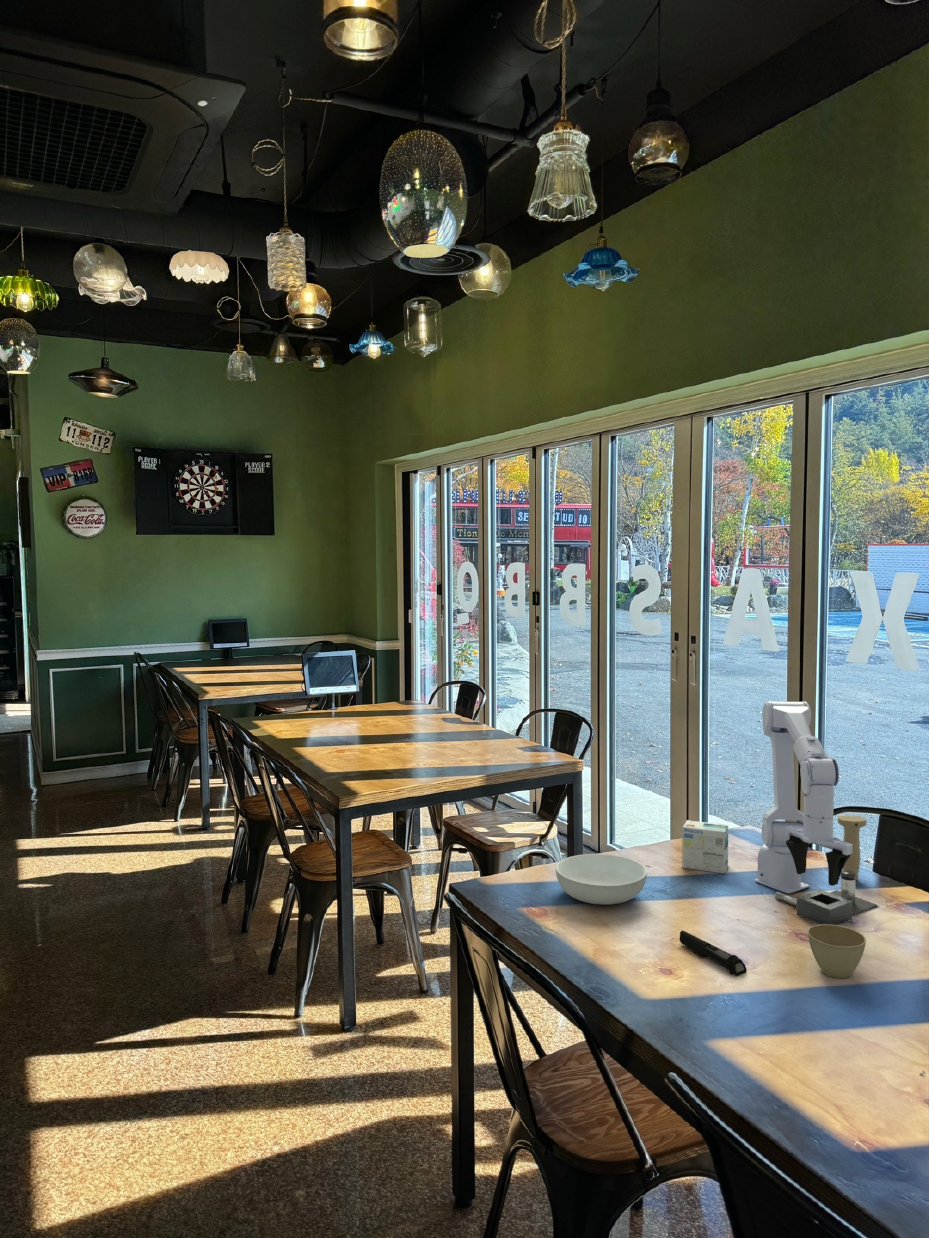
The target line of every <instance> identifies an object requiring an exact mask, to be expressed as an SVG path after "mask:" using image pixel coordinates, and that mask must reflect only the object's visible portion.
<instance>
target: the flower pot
mask: <svg viewBox="0 0 929 1238" xmlns="http://www.w3.org/2000/svg"><path fill="white" fill-rule="evenodd" d="M807 936H808V937H807V938H808V942H809V946H810V950H811V952H812V955H813V957H814V959H815V962H816V963H817V965H818V967H819V968H820V970H821V972H822V973H823V974H825V975H826V976H829V977H832V978H837V979H846V978H849V977H850V976H851V975H852V974H853V973H854V971H855V970H856V969H857V968H858V966H859V964H860V962H861V960H862V958H863V955H864V952H865V948H866V942H867V940H866V936H864V934H862V933H860V932H859V931H857V930H856V929H853V928H850V927H847V926H843V925H840V924H839V925H831V924H815V925H812V926H810V927H809V928H808V929H807Z"/></svg>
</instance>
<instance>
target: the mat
mask: <svg viewBox="0 0 929 1238" xmlns="http://www.w3.org/2000/svg"><path fill="white" fill-rule="evenodd" d="M829 893H831V894H834V895H837V896H840V897H841V890H837V889H836V890H833V891H830V892H829ZM875 908H878V904H876V903H874V902H872V901H868V900H865V899H862V898H860V897H857V896H855V905H854V906H853V915H852V917H853V916H857V915H858V914H859V915H860V914H862V913H864V912H867V911H869V910H871V909H875Z"/></svg>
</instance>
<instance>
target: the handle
mask: <svg viewBox="0 0 929 1238" xmlns="http://www.w3.org/2000/svg"><path fill="white" fill-rule="evenodd" d="M867 821H868V820H867V818H865V817H863V816H860V815H859V816H858V815H852V814H851V815H839V816H837V823H838V824H839V825H840V826H842V827H843V841H845V842H847V843H850V844H852V845H853V851H852V854H851V855H850V857H849V858H848V860H847V861H846V863H845V865H844V867H843V869H842V871H844V870H848V871H852V872H855V881H858V879H859V872H860V863H861V849H860V847H861V845H860V830H861V828H863V827H865V826H867Z"/></svg>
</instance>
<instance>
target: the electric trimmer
mask: <svg viewBox="0 0 929 1238" xmlns="http://www.w3.org/2000/svg"><path fill="white" fill-rule="evenodd" d="M679 942H680V943H681V945H683V946H685V947H686V948H687V949H688V950H690V951H691V952H693V953H694V954H695V955H697V956H698V957H700V958H703V959H704V958H705V959H708V960H710V961H711V962H713V963H715V964H716V965H718V966H720V967H721V968H723V969H726V970H727V971H728V972H729V974H730V976H735V977H738V976H742V975H744V974H747V967H746V965H745V963H744V961H743V960H742V959H741V958H739V957H738V956H737V955H735V954H732V953H729V952H727V951H725V950H723V949H721V948H720V947H718V946H715V945H713V944H711V943H709V942H708V941H705V940H703V939H701V938H700V937H697V936H696V935H694V934H691V933H689V932H687V931H685V930H680V932H679Z"/></svg>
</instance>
